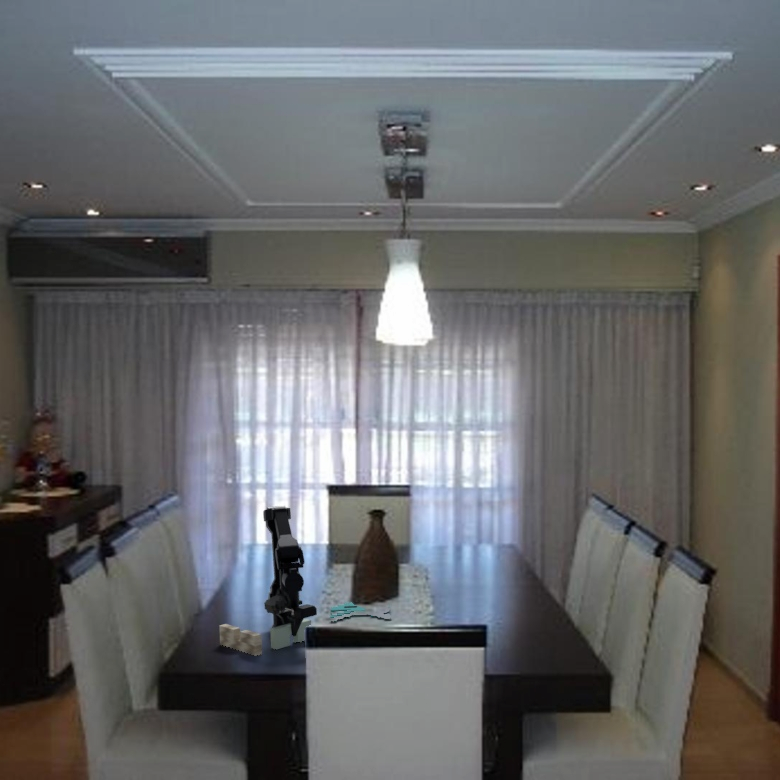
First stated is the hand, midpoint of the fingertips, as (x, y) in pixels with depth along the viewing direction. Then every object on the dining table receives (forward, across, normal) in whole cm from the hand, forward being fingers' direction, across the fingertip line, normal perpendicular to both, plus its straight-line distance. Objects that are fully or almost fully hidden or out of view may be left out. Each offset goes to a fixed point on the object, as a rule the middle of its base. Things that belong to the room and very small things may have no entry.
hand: (291, 635), depth 297 cm
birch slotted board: (+3, -8, -13) cm, 16 cm away
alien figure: (+3, -10, +38) cm, 39 cm away
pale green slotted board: (+2, 0, 0) cm, 2 cm away
